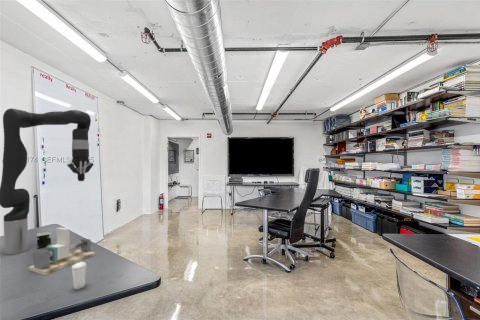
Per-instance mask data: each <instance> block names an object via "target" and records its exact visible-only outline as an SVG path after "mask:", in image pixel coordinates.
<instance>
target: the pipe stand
mask: <svg viewBox="0 0 480 320" xmlns="http://www.w3.org/2000/svg"><path fill="white" fill-rule="evenodd" d="M78 248H79V249H78ZM75 249H76V250H75ZM72 250H73V251H72ZM91 250H92V249H91V239H90V238H81V239H80V241H78V242H75V243H72V244H69V256H68V257H65V258H62V259H59V260H58V261H56V262H53V261H50V257H53V254H52V251H48V250H43V249H41V250H38V249H37V250H35V251H33V265H31V266H28V271H30V272H32V273H36V274H38V275H39V274H40V275H42V276H46V275H49V274H52V273H55V272H56V271H59V270H62V269H64V268H67V267H70V266H72V265H74V264H76V263H79V262H83V261H84V260H87V259H89V258H92V257H94V256H96V251H91ZM70 251H71V252H70ZM70 261H71V263H72V265H71V263H70Z"/></svg>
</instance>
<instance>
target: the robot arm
mask: <svg viewBox="0 0 480 320" xmlns="http://www.w3.org/2000/svg"><path fill="white" fill-rule="evenodd" d="M91 122H92V119H91V116H90V115H89V113H87V112H85V111H82V110H79V109H78V110H77V109H73V110H72V109H71V110H69V109H68V110H65V111H49V112H48V111H47V112H44V113H34V112H29V111H26V110H22V109H19V108H18V109H17V108H8V109H6V110H5V111H4V113H3V115H2V124H3V126H2V127H3V153H2V174H1V182H0V207H1V208H4V209H9V208H12V209H11V210H10V211H9V212H7V213H6V214H5V215H3V249H4V250H3V253H4V255H7V256H8V255H9V256H10V255H17V254H20V253H24V252H26V251H28V250H29V226H28V225H29V219H28V218H29V217H28V215H29V212H30V202H31V201H30V199H31V198H30V196H31V195H30V193H29V191H28V190H27V189H25V188H16V184H17V180H18V178H19V177H20V176H21V174H22V173H23V171H25V169H26V167H27V164H28V150H27V148H26V147H25V144H24V143H23V141H22V138H21V132H20V131H21V129H27V128H33V127H38V126H66V125H70V124H75V125H76V128H75V129H74V128H73V129H72V134H71V135H72V136H71V137H72V142H71V158H72V159H71V162H70V163H68V164H67V165H66V166H67V167H68V168H69V169H70V171H71V172H72V173H74V174H77V180H78V182H84V181H85V179H86V177H85V174H86V173H89V171H90V170H91V169H92V167H93V166H94V165H95V164H94V163H93V162H91V161H90V159H89V157H90V143H89V132H90V126H91Z"/></svg>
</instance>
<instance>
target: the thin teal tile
mask: <svg viewBox="0 0 480 320" xmlns="http://www.w3.org/2000/svg"><path fill="white" fill-rule="evenodd" d="M46 250H48V251H52V254H53V257H50V261H53V262H56V261H58V258H57V247H53V246H52V245H49V246H47V247H46Z"/></svg>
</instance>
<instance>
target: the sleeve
mask: <svg viewBox="0 0 480 320" xmlns="http://www.w3.org/2000/svg"><path fill="white" fill-rule="evenodd" d="M70 230H71V229H70V228H65V227H56V243H55V244H51V246H53V247H57V258H58V260H59V259H62V258H65V257H68V256H69V253H70V250H69V245H71V243H70V241H71V238H70V237H71V235H70Z"/></svg>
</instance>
